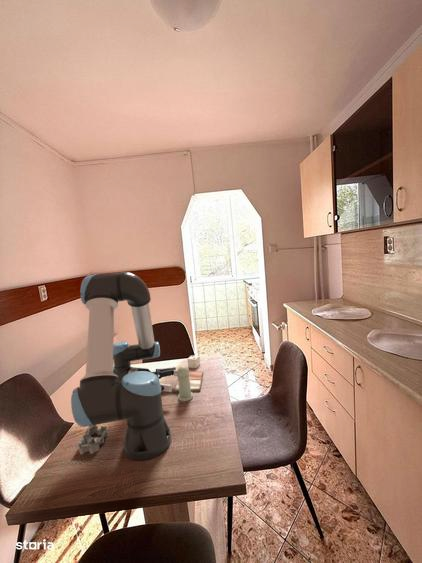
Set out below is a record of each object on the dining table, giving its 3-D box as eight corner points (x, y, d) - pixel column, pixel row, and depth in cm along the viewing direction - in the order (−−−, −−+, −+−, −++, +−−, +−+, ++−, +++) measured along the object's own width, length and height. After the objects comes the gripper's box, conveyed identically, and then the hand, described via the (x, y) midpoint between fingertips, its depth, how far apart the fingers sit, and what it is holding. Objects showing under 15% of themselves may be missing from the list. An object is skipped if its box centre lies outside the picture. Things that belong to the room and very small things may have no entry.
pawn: (184, 403, 109) (180, 370, 108) (175, 398, 114) (172, 366, 112) (196, 396, 113) (193, 365, 112) (187, 392, 118) (184, 361, 117)
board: (200, 391, 118) (200, 388, 117) (174, 392, 118) (173, 390, 118) (203, 373, 135) (203, 371, 135) (180, 375, 136) (180, 372, 136)
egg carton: (92, 433, 95) (90, 422, 94) (112, 433, 94) (110, 422, 94) (74, 455, 84) (72, 443, 84) (96, 455, 83) (94, 443, 83)
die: (196, 368, 143) (195, 359, 142) (188, 367, 145) (187, 358, 144) (200, 364, 148) (199, 355, 147) (192, 363, 149) (191, 355, 149)
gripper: (155, 372, 135) (192, 376, 126) (122, 397, 112) (164, 404, 103) (154, 358, 134) (191, 361, 126) (120, 381, 111) (162, 386, 103)
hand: (179, 380), depth 115 cm, fingers open, 13 cm apart
